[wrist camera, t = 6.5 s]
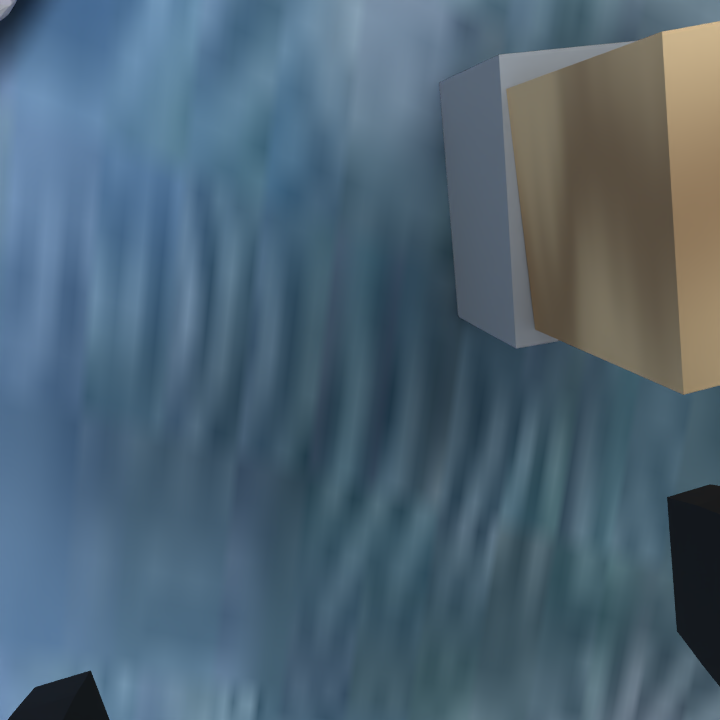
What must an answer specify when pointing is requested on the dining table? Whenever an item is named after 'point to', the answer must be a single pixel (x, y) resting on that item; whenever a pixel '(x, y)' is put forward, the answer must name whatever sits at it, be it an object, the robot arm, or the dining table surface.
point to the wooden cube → (627, 204)
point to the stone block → (6, 7)
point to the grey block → (493, 190)
